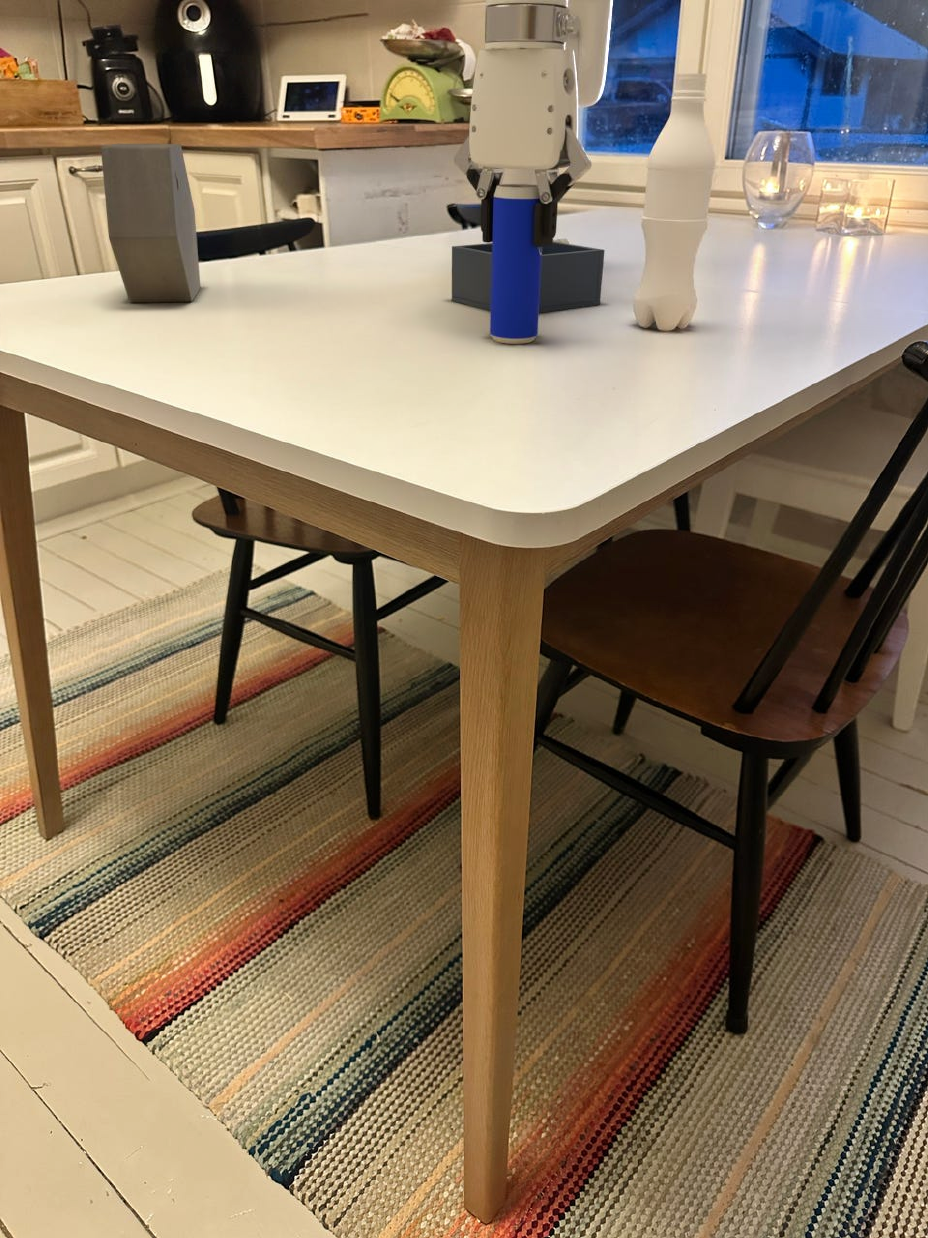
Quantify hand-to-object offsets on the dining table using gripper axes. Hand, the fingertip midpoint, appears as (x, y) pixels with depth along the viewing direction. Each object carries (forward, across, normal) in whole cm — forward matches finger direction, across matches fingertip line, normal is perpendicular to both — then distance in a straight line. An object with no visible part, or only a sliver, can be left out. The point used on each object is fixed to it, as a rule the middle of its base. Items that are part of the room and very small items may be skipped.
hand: (517, 241), depth 91 cm
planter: (+10, +50, +4) cm, 51 cm away
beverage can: (+10, 0, 0) cm, 10 cm away
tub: (+10, +9, -20) cm, 24 cm away
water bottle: (+10, -11, -16) cm, 22 cm away
